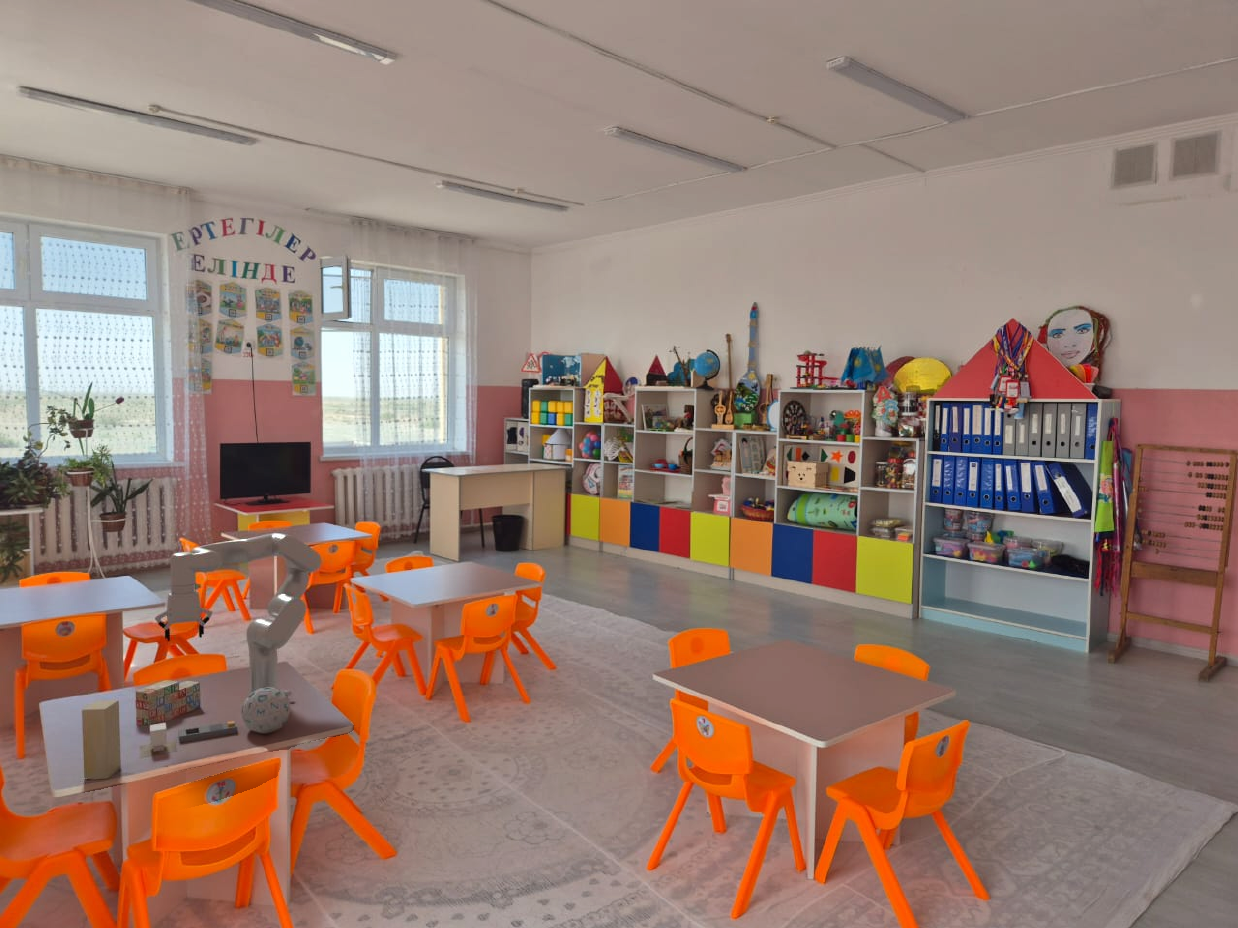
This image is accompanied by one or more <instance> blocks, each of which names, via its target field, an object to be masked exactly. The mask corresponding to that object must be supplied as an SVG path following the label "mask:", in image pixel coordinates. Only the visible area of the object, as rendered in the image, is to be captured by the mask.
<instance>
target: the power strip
mask: <svg viewBox="0 0 1238 928" xmlns="http://www.w3.org/2000/svg"><path fill="white" fill-rule="evenodd" d="M236 723H237V722H236V720H231V721H227V722H220V723H214V724H209V725H202V726H197V727H190V728H184V729H178V730H177V733H178V734H177V735H178V743H187V742H192V741H197V740H205V739H210V738H215V737H221V736H227V735H233V734H238V725H237V724H236Z"/></svg>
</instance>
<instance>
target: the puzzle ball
mask: <svg viewBox="0 0 1238 928" xmlns="http://www.w3.org/2000/svg"><path fill="white" fill-rule="evenodd" d="M290 713H291V701H290V699H289V696H287V695H286V694H285V693H283V692H282V691H281V689H279V688H278V689H277V688H272V687H265V688H261V689H258V690H256V691H254V692H253V693H251V695H250V694H249V696H248V697H246V699H245V700H244V702H243V705H242V707H241V717H242V721H243V723H244V724H245V726H246V728H248V729H249V730H250V731H252V732H255V733H259V734H262V735H266V734H270V733H275V732H276V731H278V730H279V729H281V728H282V727H283V726H284V725H285V724H286V722H287V721H288V719H289V717H290Z"/></svg>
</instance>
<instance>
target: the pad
mask: <svg viewBox="0 0 1238 928" xmlns="http://www.w3.org/2000/svg"><path fill="white" fill-rule="evenodd" d="M174 752H178V750H177V742H176V740H175V739H174V740H167V744H164V750H160V751H155V752H153V747H151V745H150V743H149V744H145V745H140V746H139V759H140V758H145V757H146V758H147V757H152V756H156V755H157V756H158V755H163V754H169V753H174Z"/></svg>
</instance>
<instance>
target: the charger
mask: <svg viewBox="0 0 1238 928" xmlns="http://www.w3.org/2000/svg"><path fill="white" fill-rule="evenodd" d="M167 741H168V740H167V722H160V723H156V724H155V723H154V724H150V725H149V742H150V743H149V744H150V745H151V747H153V752H155V751H160V750H164V744H167Z"/></svg>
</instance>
